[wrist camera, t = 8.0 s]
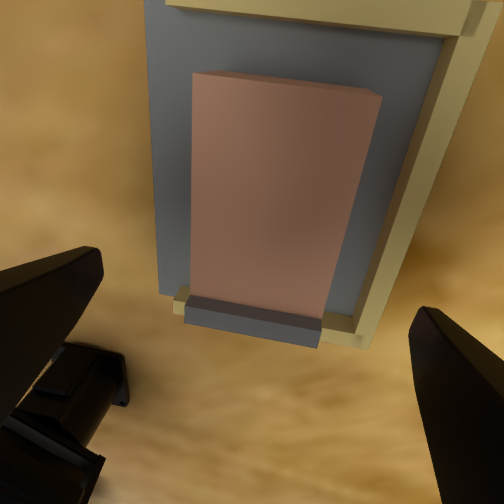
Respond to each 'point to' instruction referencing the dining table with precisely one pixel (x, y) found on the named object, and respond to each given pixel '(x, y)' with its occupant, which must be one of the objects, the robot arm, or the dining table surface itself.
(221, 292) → the pink panel on base
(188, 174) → the dock
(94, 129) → the dining table surface
